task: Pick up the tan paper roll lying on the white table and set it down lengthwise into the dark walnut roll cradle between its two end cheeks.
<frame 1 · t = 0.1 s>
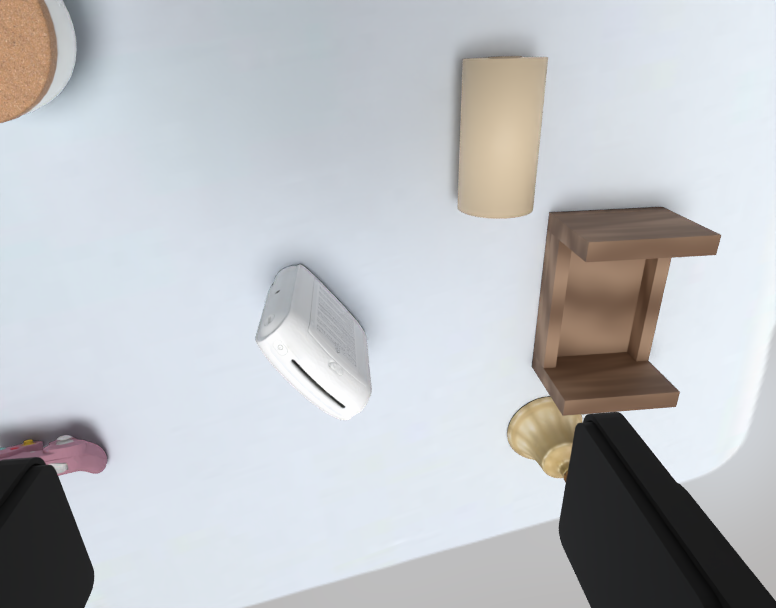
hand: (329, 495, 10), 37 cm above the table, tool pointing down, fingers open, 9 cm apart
hand bell: (543, 426, 58), on the table
lidded jar: (21, 31, 37), on the table
roll cradle: (593, 291, 51), on the table
photo printer: (318, 307, 49), on the table
video game controller: (55, 443, 53), on the table
paper roll: (489, 131, 43), on the table
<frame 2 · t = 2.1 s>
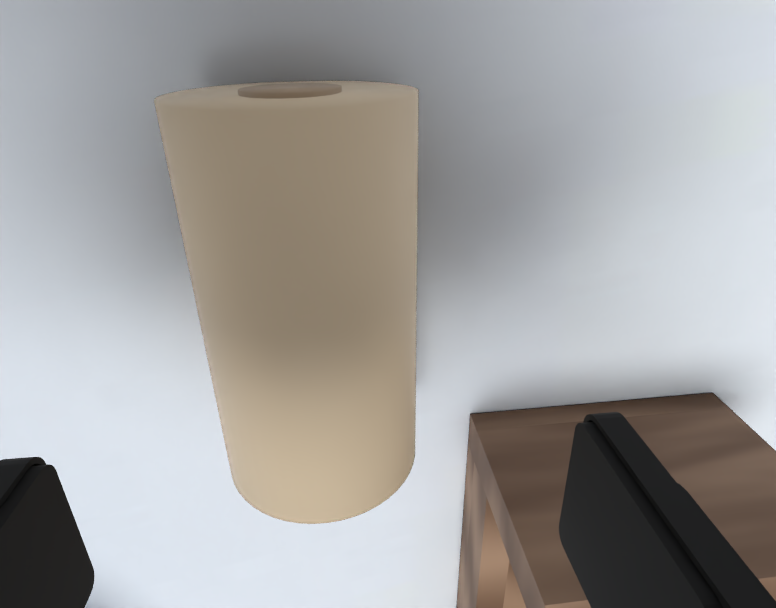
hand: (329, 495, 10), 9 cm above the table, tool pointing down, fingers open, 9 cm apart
roll cradle: (566, 536, 25), on the table
paper roll: (309, 259, 18), on the table
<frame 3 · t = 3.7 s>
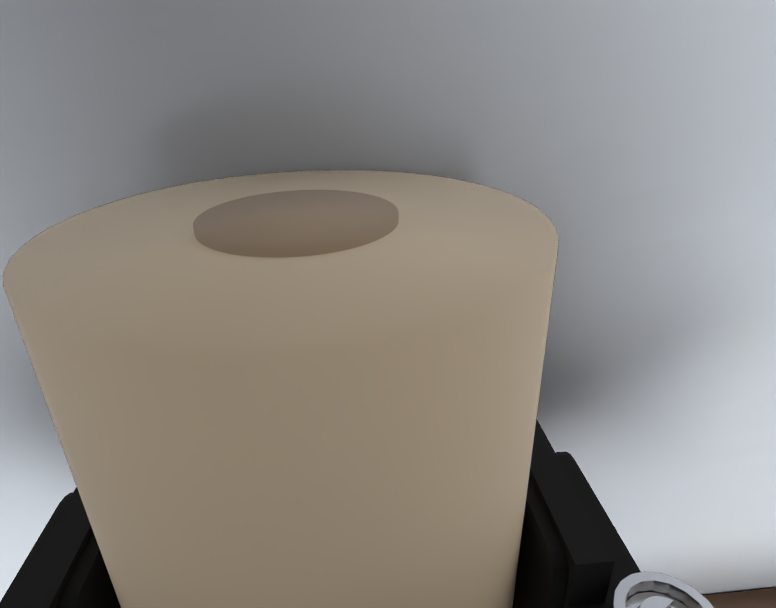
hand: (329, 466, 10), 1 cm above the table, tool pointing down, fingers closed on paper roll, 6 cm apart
paper roll: (328, 427, 11), on the table, touching gripper
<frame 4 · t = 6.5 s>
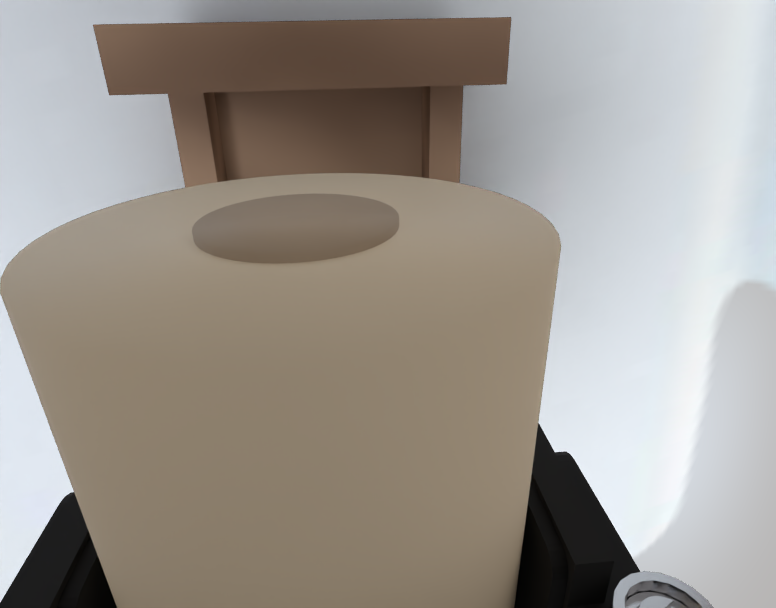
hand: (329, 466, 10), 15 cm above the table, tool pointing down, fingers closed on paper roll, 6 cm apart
roll cradle: (330, 229, 24), on the table
paper roll: (327, 431, 11), point 14 cm above the table, touching gripper
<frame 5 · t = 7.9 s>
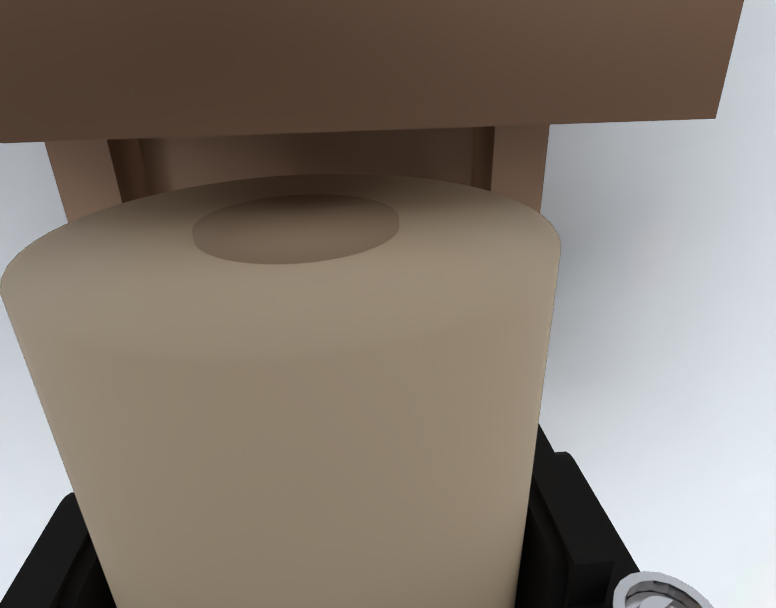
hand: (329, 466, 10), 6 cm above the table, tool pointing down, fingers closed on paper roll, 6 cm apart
roll cradle: (326, 314, 16), on the table
paper roll: (327, 431, 11), point 5 cm above the table, touching gripper
when the fingers open (4 cm above the table, at t = 9.3 s): paper roll drops 2 cm, resting on roll cradle.
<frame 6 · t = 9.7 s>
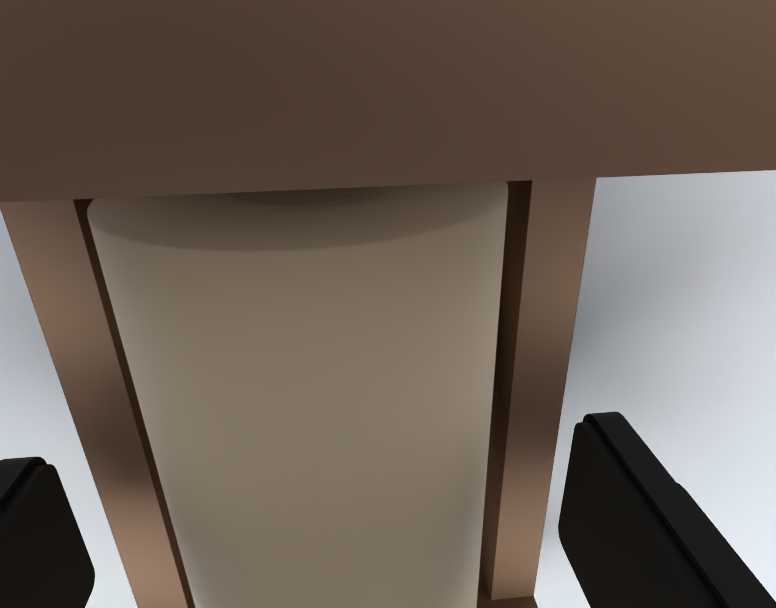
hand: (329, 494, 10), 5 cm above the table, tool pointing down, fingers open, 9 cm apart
roll cradle: (330, 358, 14), on the table
paper roll: (325, 378, 13), point 1 cm above the table, touching roll cradle
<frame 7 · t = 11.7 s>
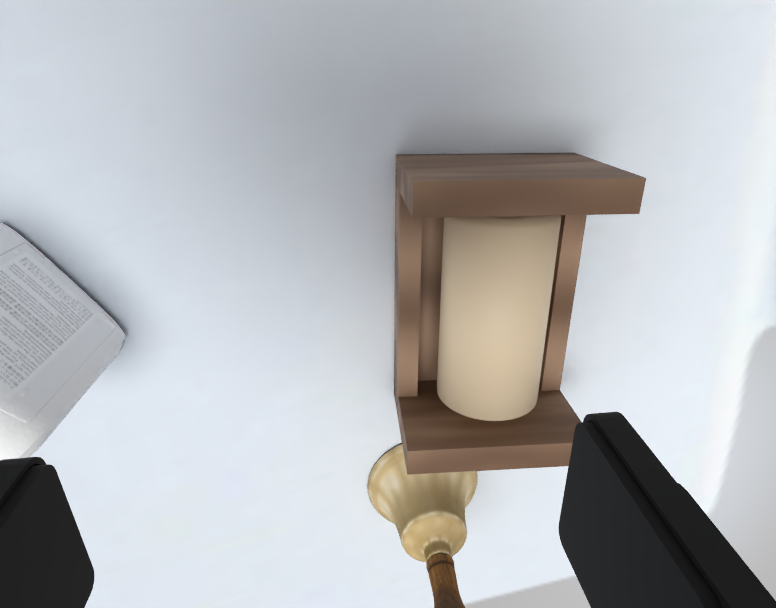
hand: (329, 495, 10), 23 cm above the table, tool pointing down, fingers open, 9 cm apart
hand bell: (422, 480, 40), on the table
roll cradle: (476, 283, 34), on the table
photo printer: (51, 294, 32), on the table
paper roll: (478, 288, 33), point 1 cm above the table, touching roll cradle
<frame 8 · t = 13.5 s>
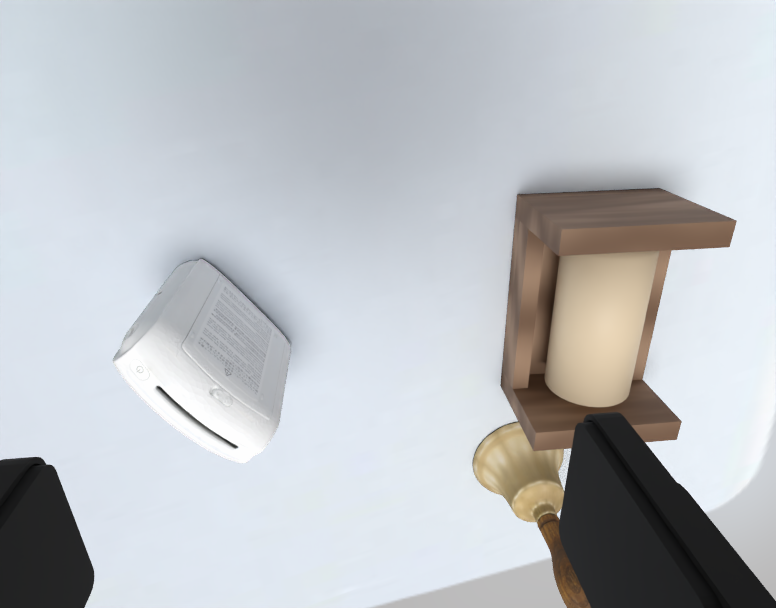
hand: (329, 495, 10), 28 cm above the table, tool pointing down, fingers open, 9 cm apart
hand bell: (517, 456, 48), on the table
roll cradle: (574, 294, 41), on the table
photo printer: (231, 313, 39), on the table
paper roll: (578, 299, 40), point 1 cm above the table, touching roll cradle
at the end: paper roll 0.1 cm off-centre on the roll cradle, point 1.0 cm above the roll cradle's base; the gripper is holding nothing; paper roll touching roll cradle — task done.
